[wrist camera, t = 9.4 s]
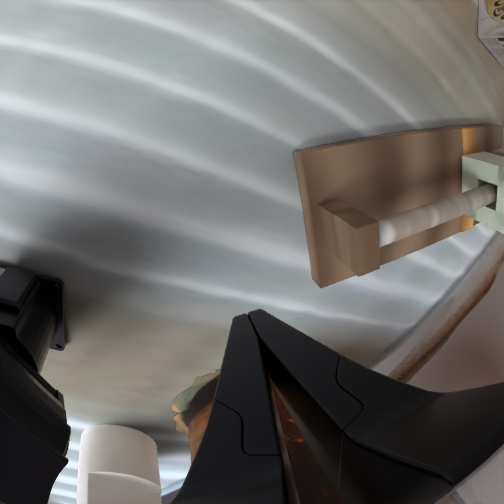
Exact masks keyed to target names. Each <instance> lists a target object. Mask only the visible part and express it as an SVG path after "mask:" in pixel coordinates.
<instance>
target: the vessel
mask: <svg viewBox="0 0 504 504" xmlns="http://www.w3.org/2000/svg"><path fill="white" fill-rule="evenodd" d="M220 371H221V370H216V372H215V374H207V375H205V376H203V377H202V378H201V377H197V378H196V380H195V381H194V383H193V385H192V387H190V388H188V389H187V390H185V391H184V392H182V393H180V394H179V395H178V396H177V397H176V398H175V399H174V400H173V408H172V410H174V411H176V412H179V413H178V414H177V415H176V416H174V417H173V419H174V420H175V421H176V422H177V423H176V431H179V432H181V433H184V434H186V435H188V436H189V440H190V451H191V464H192V462H193V460H194V457H195V455H196V452H197V450H198V448H199V445H200V443H201V440H202V437H203V435H204V432H205V429H206V426H207V423H208V419H209V416H210V412H211V408H212V404H213V401H214V396H215V392H216V387H217V383H218V379H219V375H220ZM269 379H270V377H269ZM270 382H271V380H270ZM271 386H272V390H273V394H274V398H275V403H276V407H277V411H278V415H279V419H280V424H281V428H282V432H283V436H284V440H285V444H286V448H287V453H288V457H289V461H290V465H291V469H292V473H293V477H294V481H295V485H296V489H297V493H298V497H299V501H300V504H345V503H344V501H343V500H342V498H341V497H340V495H339V494H338V492H337V491H336V489H335V487H334V486H333V484H332V483H331V481H330V479H329V478H328V476H327V475H326V473H325V472H324V470H323V468H322V467H321V465H320V463H319V462H318V460H317V459H316V457H315V455H314V454H313V452H312V450H311V449H310V447H309V445H308V444H307V442H306V440H305V439H304V437H303V435H302V434H301V432H300V430H299V429H298V427H297V425H296V424H295V422H294V420H293V419H292V417H291V415H290V413H289V412H288V410H287V408H286V407H285V405H284V403H283V401H282V400H281V398H280V396H279V394H278V393H277V391H276V389H275V387H274V386H273V384H272V382H271Z"/></svg>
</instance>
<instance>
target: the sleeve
mask: <svg viewBox="0 0 504 504" xmlns="http://www.w3.org/2000/svg"><path fill="white" fill-rule="evenodd" d="M490 183H492V184H495V185H497V186H498V187H497V201H496V202H493V203H491V204H488V205H486V206H484V207H481V208H479V209H476V210H474V211H472V212H469V213H467V214H464V215H466V216H468V217H470V218H472V219H475V220H477V221H479V222H481V223H483V224H485V225H487V226H489V227H491V228H493V229H495V230H497V231H499V232H501V233H503V234H504V157H503V156H499V155H496V154H492V153H488V152H485V151H484V152H479V153H473V154H468V155H463V156H462V192H465V191H468V190H471V189H474V188H477V187H480V186H483V185H486V184H490Z"/></svg>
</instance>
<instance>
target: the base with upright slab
mask: <svg viewBox="0 0 504 504" xmlns="http://www.w3.org/2000/svg"><path fill="white" fill-rule="evenodd" d="M160 494H161V483H160V475H159V465H158V455H157V446H156V443H155V442H154V440H153V439H152V438H151V437H149V436H148V435H147V434H145V433H143V432H141V431H139V430H136V429H133V428H130V427H126V426H120V425H111V424H103V425H95V426H91V427H89V428H87V429H85V430H84V431H83V433H82V434H81V443H80V453H79V465H78V481H77V504H161V497H160Z"/></svg>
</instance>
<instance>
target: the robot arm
mask: <svg viewBox="0 0 504 504" xmlns="http://www.w3.org/2000/svg"><path fill="white" fill-rule="evenodd" d="M55 284H57V285H58V286H59V288H57V287H56V286H55ZM59 344H60V345H59ZM65 345H66V343H65V323H64V283H63V282H62V281H61V280H60V279H57V278H53V277H48V276H44V275H40V274H37V273H36V272H32V271H28V270H24V269H20V268H16V267H12V266H8V267H7V266H3V265H0V504H47V503H48V499H49V496H50V492H51V489H52V486H53V484H54V482H55V480H56V478H57V477H58V475H59V473H60V472H61V471H62V469H63V468H64V467H65V466H66V465H67V463H68V459H67V458H66V457H65V456H66V454H67V450H68V446H69V441H70V434H71V427H70V426H69V425H68V424H67V418H66V411H65V408H64V399H63V395H62V394H61V393H60V392H59V391H58V390H55V389H54V388H53V387H52V386H51V385H50V384H49V383H48V382H47V381H46V380H45V379H44V378H43V377H42V376H41V375H40V373H41V370H42V367H43V364H44V361H45V359H46V356H47V353H48V350H49V348H51V349H55V350H59V351H62V350H64V348H65ZM269 377H270V379H269ZM270 380H271V382H272V384H273V386H274V387H275V389H276V391H277V393H278V394H279V396H280V398H281V400H282V401H283V403H284V405H285V407H286V408H287V410H288V412H289V413H290V415H291V417H292V419H293V420H294V422H295V424H296V425H297V427H298V429H299V430H300V432H301V434H302V435H303V437H304V439H305V440H306V442H307V444H308V445H309V447H310V449H311V450H312V452H313V454H314V455H315V457H316V459H317V460H318V462H319V463H320V465H321V467H322V468H323V470H324V472H325V473H326V475H327V476H328V478H329V479H330V481H331V483H332V484H333V486H334V487H335V489H336V491H337V492H338V494H339V495H340V497H341V498H342V500H343V501H344V503H345V504H504V382H500V383H496V384H492V385H487V386H482V387H477V388H472V389H466V390H460V391H454V392H447V393H446V392H445V393H444V392H442V393H440V392H432V391H427V390H424V389H421V388H418V387H415V386H412V385H409V384H407V383H404V382H401V381H399V380H396V379H393V378H391V377H388V376H385V375H383V374H380V373H378V372H375V371H373V370H371V369H368V368H366V367H364V366H362V365H360V364H358V363H356V362H354V361H352V360H350V359H348V358H347V357H345V356H343V355H340V354H339V353H337V352H336V351H334V350H332V349H330V348H328V347H327V346H325V345H323V344H321V343H319V342H318V341H316V340H314V339H312V338H311V337H309V336H307V335H305V334H304V333H302V332H300V331H298V330H297V329H295V328H293V327H291V326H290V325H288V324H286V323H284V322H283V321H281V320H279V319H278V318H276V317H274V316H273V315H271V314H269V313H267V312H266V311H264V310H262V309H257V310H254V311H251V312H249V313H248V315H247V314H241V315H238V316H235V317H234V318H233V321H232V325H231V329H230V333H229V337H228V341H227V346H226V350H225V354H224V358H223V362H222V366H221V371H220V375H219V379H218V383H217V387H216V392H215V396H214V401H213V404H212V408H211V412H210V416H209V419H208V423H207V426H206V429H205V432H204V435H203V437H202V440H201V443H200V445H199V448H198V450H197V452H196V455H195V457H194V460H193V462H192V464H191V467H190V469H189V472H188V474H187V476H186V479H185V481H184V483H183V486H182V487H181V489H180V491H179V493H178V494H177V495H176V497H175V498H174V499H173V500H172V501H171V502H170V503H169V504H300V501H299V497H298V493H297V489H296V485H295V481H294V477H293V473H292V469H291V465H290V461H289V457H288V453H287V448H286V444H285V440H284V436H283V432H282V428H281V424H280V419H279V415H278V411H277V407H276V403H275V398H274V394H273V390H272V386H271V382H270Z"/></svg>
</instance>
